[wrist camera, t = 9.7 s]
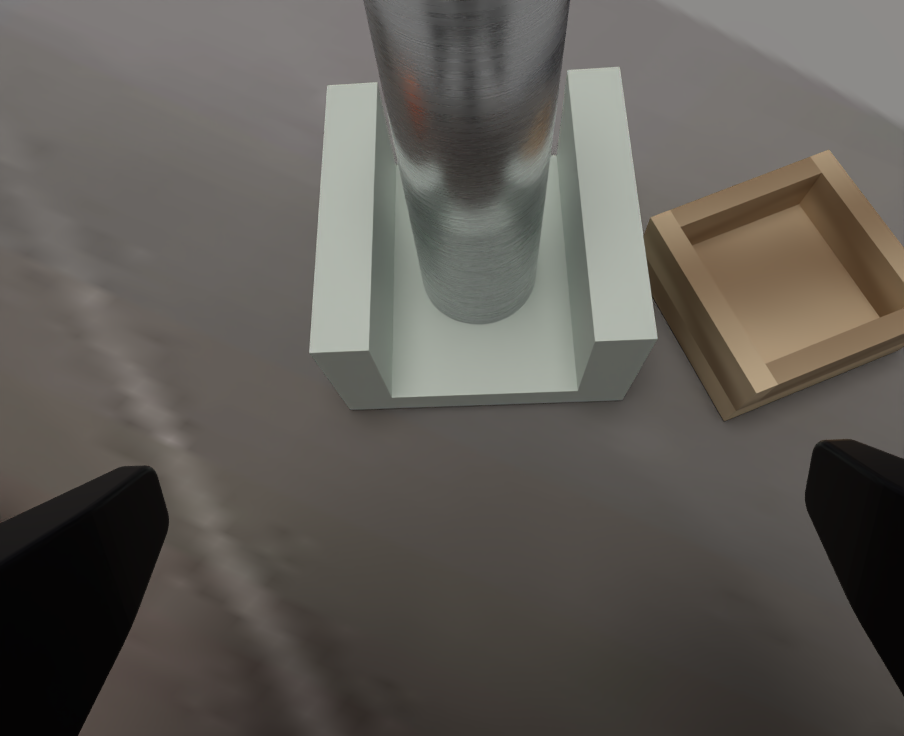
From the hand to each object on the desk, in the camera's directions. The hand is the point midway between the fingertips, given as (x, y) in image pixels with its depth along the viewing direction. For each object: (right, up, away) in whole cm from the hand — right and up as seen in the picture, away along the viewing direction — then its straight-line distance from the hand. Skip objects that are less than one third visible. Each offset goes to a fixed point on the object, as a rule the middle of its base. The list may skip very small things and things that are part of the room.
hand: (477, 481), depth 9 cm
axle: (0, +4, +11) cm, 12 cm away
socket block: (+9, +3, +11) cm, 14 cm away
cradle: (+1, +4, +12) cm, 12 cm away
